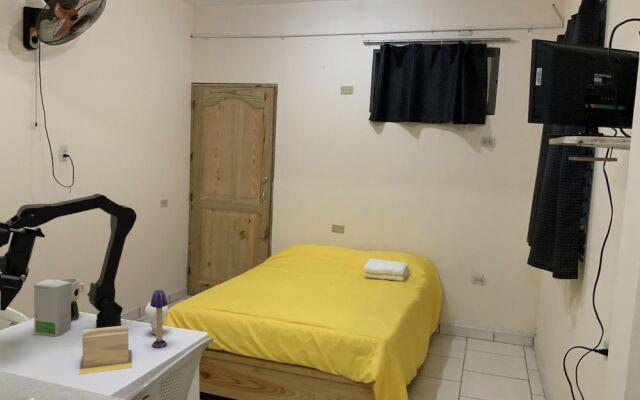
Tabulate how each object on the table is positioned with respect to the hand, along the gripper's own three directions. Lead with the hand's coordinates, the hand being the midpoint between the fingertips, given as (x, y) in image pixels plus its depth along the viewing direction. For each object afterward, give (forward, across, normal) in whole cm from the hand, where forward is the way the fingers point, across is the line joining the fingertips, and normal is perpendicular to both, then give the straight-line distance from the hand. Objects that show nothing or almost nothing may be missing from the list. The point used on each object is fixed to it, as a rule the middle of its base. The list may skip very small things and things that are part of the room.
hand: (4, 306), depth 137 cm
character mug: (+8, -23, +18) cm, 30 cm away
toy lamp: (+3, +10, +41) cm, 43 cm away
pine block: (+7, +15, +27) cm, 32 cm away
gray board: (+7, +16, +28) cm, 32 cm away
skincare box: (+9, -13, +14) cm, 21 cm away
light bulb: (+3, +1, +42) cm, 42 cm away
